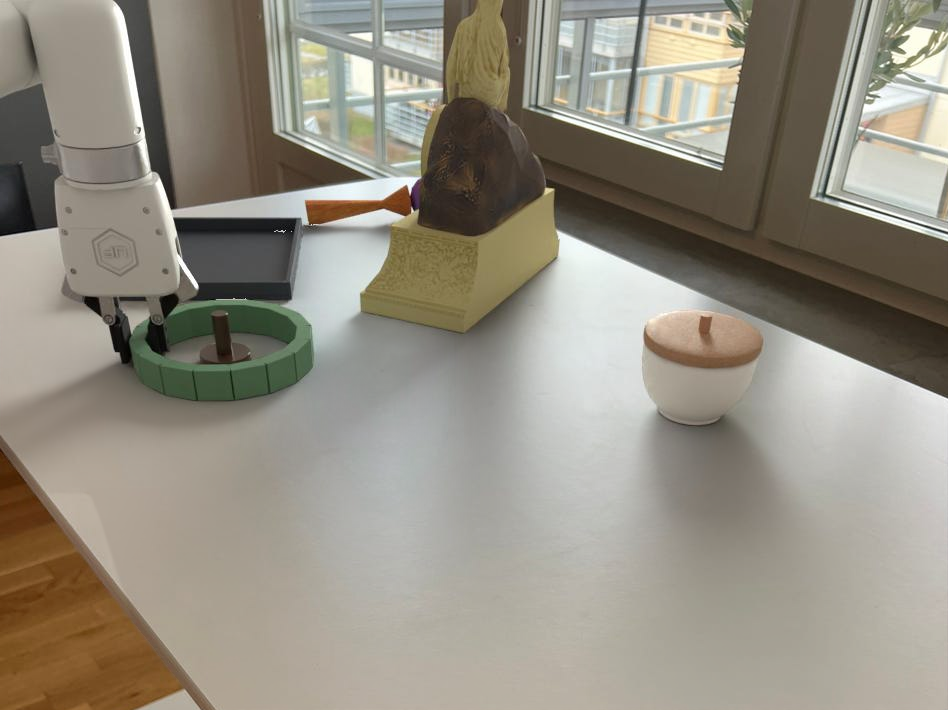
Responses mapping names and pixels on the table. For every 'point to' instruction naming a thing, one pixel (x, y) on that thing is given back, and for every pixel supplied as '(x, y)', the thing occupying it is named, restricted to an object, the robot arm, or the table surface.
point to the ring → (226, 377)
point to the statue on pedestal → (469, 197)
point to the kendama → (362, 206)
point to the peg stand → (223, 344)
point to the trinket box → (698, 364)
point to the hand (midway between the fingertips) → (144, 356)
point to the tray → (239, 256)
